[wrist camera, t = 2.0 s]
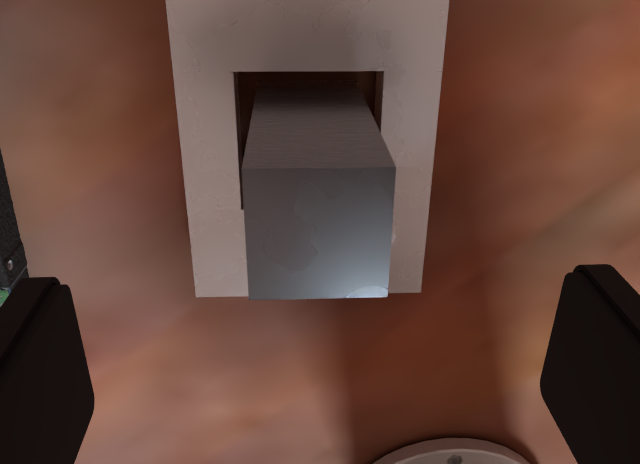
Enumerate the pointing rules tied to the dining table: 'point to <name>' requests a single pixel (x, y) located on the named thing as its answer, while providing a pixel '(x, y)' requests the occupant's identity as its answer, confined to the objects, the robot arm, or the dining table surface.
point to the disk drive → (9, 242)
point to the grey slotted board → (301, 55)
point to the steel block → (316, 194)
